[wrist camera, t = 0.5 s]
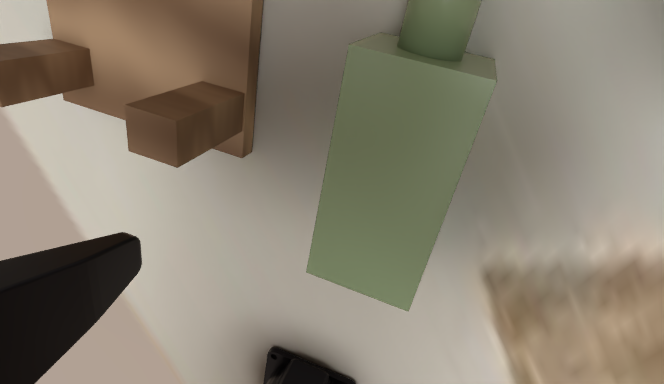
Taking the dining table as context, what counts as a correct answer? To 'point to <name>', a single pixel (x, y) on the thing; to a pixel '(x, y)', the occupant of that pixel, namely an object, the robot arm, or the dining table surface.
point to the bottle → (399, 150)
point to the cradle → (149, 70)
